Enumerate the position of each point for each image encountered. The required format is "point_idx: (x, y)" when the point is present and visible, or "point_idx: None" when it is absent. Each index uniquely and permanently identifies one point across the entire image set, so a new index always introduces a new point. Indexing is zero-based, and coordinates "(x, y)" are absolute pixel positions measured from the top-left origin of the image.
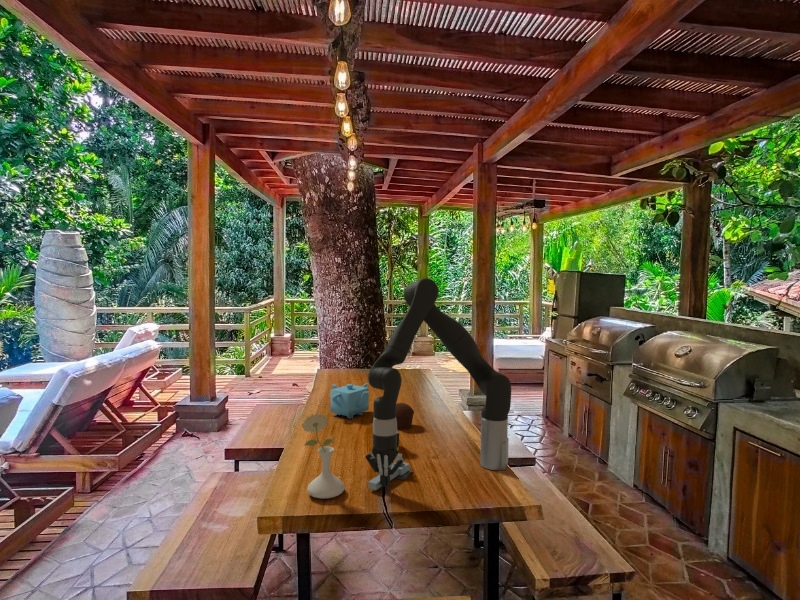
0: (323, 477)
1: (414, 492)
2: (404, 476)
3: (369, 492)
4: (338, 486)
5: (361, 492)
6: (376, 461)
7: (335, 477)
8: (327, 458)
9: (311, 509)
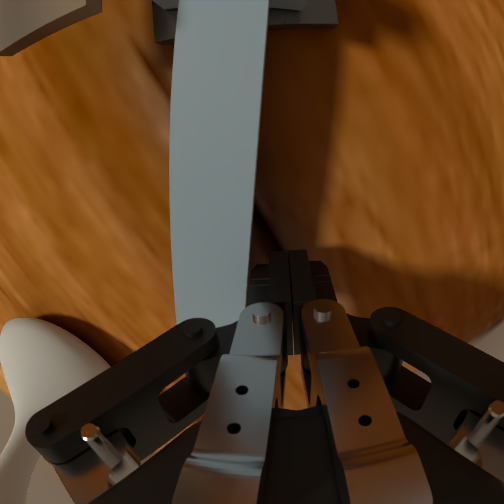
0: None
1: (459, 184)
2: (325, 6)
3: None
4: None
5: (168, 316)
6: (151, 392)
7: None
8: (25, 500)
9: None
